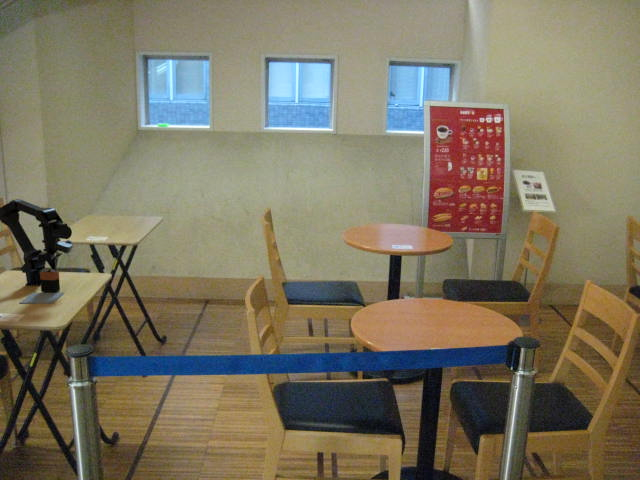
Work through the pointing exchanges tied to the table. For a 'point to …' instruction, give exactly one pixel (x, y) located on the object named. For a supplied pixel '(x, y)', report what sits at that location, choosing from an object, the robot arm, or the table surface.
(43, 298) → the mat
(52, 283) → the battery
